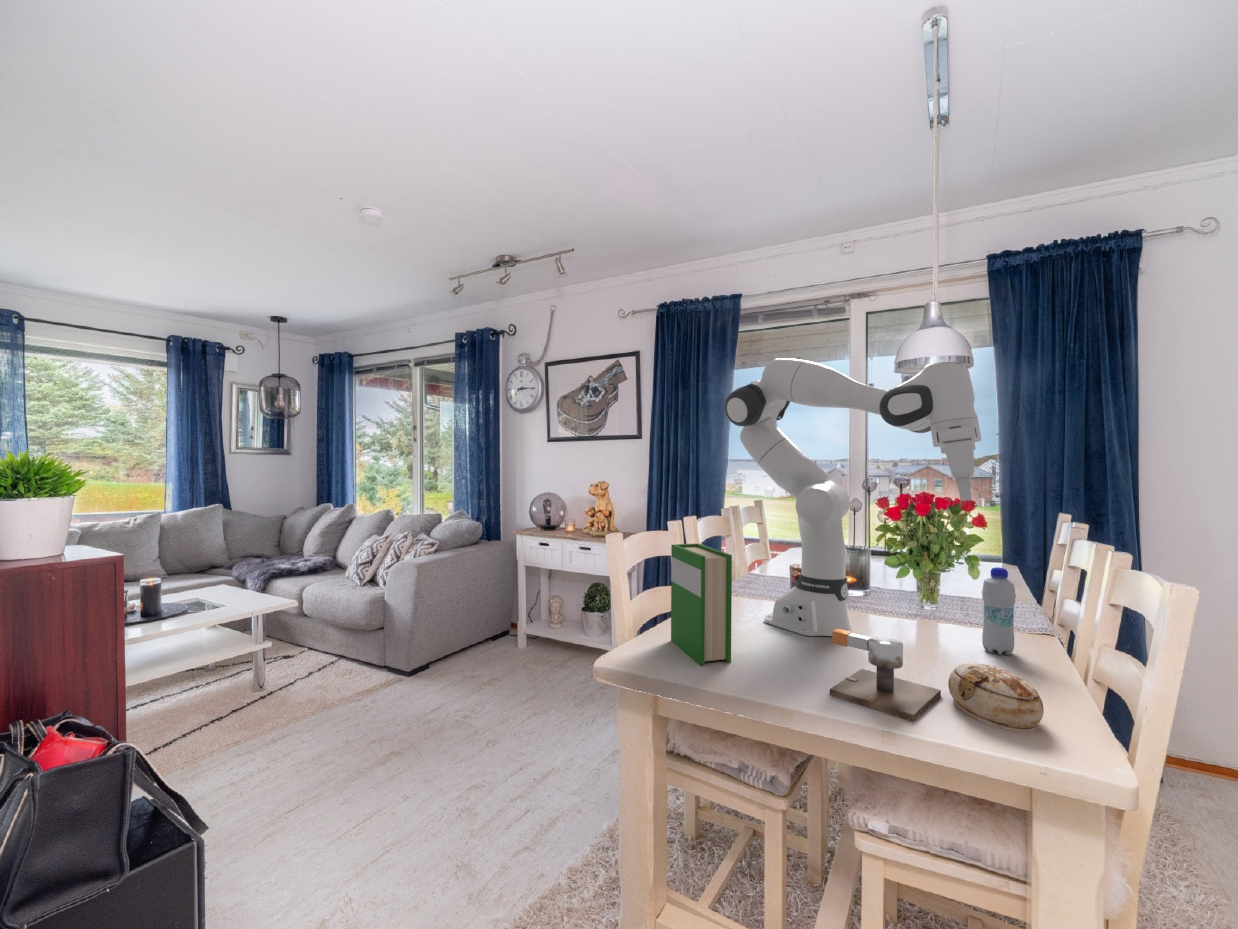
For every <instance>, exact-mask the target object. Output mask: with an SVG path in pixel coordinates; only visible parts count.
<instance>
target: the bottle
mask: <svg viewBox="0 0 1238 929" xmlns="http://www.w3.org/2000/svg"><path fill="white" fill-rule="evenodd" d="M1008 578H1009V572H1008V569H1007V568H1004V567H997V566H996V567H992V568H991V569H990V577H988V578H985V579H983V583H982V590H981V594H982V596H981V598H982V600H983V601H982V602H983V619H982V620H983V621H982V622H983V623H982V624H983V625H982V626H983V627H982V637H981V639H982V640H981V642H982V643H981V644H982V646H983V647H982V648H984V650H985V651H988V652H989V653H991V654H994V652H995V650H996V652H997V655H1003V652H1004V654H1005V655H1007V656H1009V655H1011V653H1013V651H1014V650H1015V633H1014V632H1015V631H1014V630H1015V629H1014V625H1015V624H1014V622H1015V621H1014V617H1015V616H1014V614H1015V613H1014V611H1015V610H1014V609H1015V604H1016V597H1017V594H1016V589H1015V584H1014V582H1013V581H1011V580H1009V579H1008Z"/></svg>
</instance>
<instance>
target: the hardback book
mask: <svg viewBox="0 0 1238 929" xmlns="http://www.w3.org/2000/svg"><path fill="white" fill-rule="evenodd" d="M670 553H671V554H670V555H671V562H670V563H671V567H670V568H671V571H670V572H671V575H670V576H671V577H670V578H671V579H670V581H671V583H670V584H671V586H670V590H671V591H670V594H671V597H670V641H671V642H672V643H673V644H674V645H675V646H677V647H678V649H680V650H681V651H682V652H683V653H685V655H687V656H688V657H689V658H691V659H692V660H693V661H694V662H695V663H696V664H697V665H699V666H700V667H703V666H705V662H711V661H712V662H713V661H721V660H722V661H724V662H725V663H726V664H731V663H732V601H733V600H732V596H733V594H732V593H733V592H732V590H733V589H732V588H733V587H732V585H733V582H732V580H733V578H732V577H733V576H732V573H733V572H732V570H733V569H732V568H733V565H732V564H733V563H732V562H733V557H732V556H733V555H732V554H730V553H728V552H724V551H721V550H719V549H715V548H713V547H710V546H707V545H704V544H703V543H702V544H701V543H681V544H680V543H678V544H671V552H670Z"/></svg>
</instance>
